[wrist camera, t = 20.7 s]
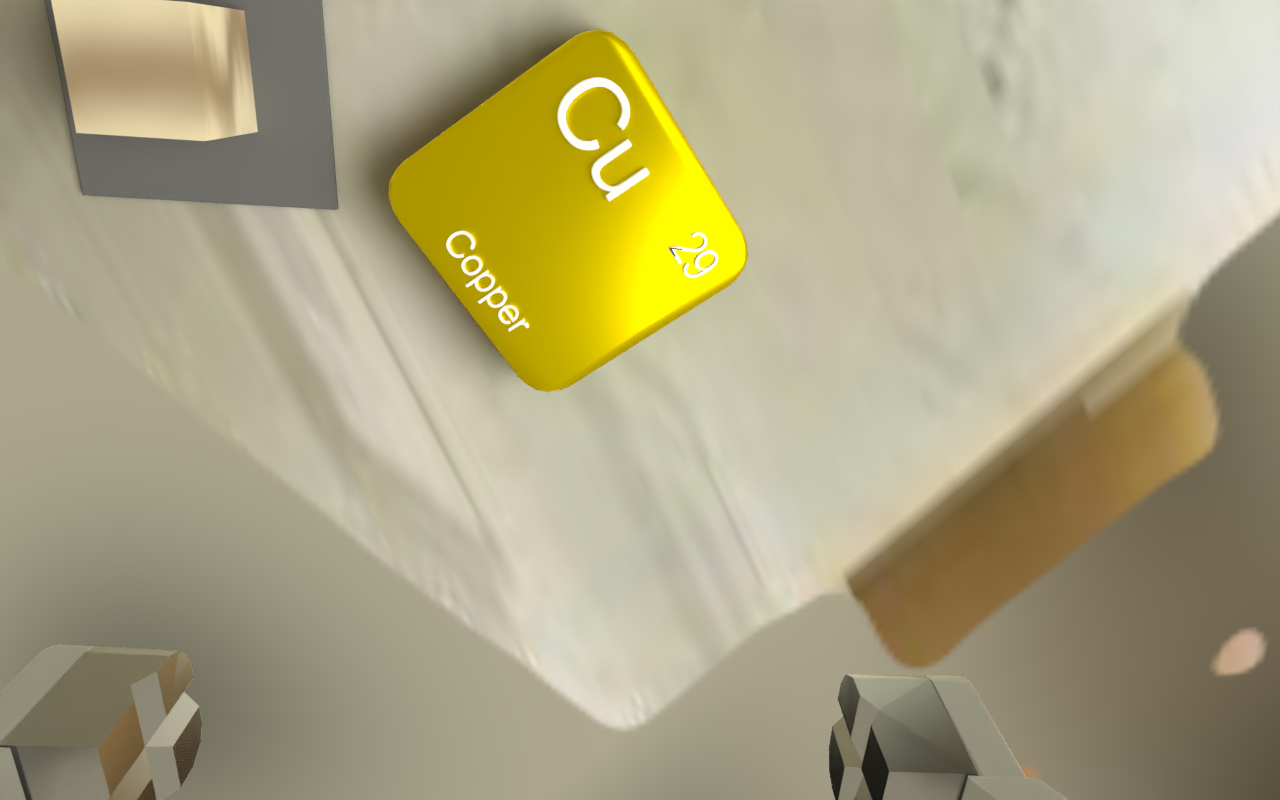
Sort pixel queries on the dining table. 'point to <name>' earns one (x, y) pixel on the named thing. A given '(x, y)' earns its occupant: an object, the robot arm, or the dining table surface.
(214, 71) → the light wood cube
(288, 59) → the pad
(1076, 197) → the dining table surface
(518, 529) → the dining table surface
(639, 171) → the element tile
